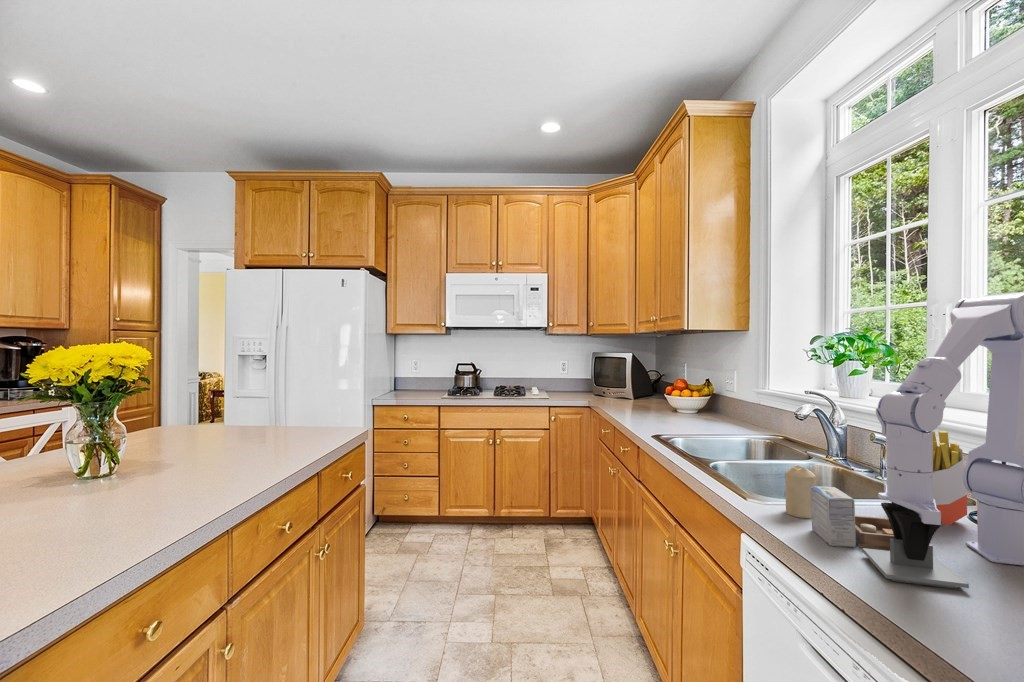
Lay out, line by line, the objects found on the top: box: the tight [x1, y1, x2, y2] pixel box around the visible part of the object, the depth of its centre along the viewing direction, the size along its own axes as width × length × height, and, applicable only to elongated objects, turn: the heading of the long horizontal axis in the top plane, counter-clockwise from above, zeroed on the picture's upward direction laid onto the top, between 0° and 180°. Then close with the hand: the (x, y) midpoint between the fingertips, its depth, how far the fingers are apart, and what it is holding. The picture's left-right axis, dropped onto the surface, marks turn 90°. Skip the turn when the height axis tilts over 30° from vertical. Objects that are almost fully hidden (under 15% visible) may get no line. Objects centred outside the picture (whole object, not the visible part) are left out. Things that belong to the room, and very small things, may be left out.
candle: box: [784, 465, 816, 519], centre depth 104 cm, size 6×6×10 cm
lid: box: [861, 539, 970, 589], centre depth 77 cm, size 10×10×5 cm
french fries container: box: [932, 430, 968, 526], centre depth 100 cm, size 5×11×18 cm, turn 63°
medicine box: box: [811, 485, 857, 548], centre depth 91 cm, size 8×4×9 cm, turn 168°
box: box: [855, 515, 894, 551], centre depth 90 cm, size 10×10×2 cm
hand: (910, 554), depth 77 cm, fingers open, 3 cm apart
